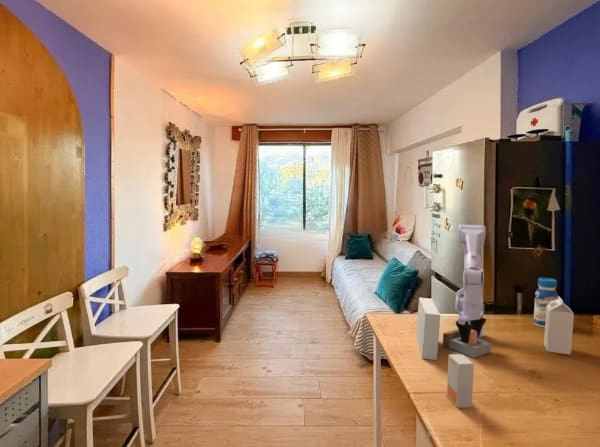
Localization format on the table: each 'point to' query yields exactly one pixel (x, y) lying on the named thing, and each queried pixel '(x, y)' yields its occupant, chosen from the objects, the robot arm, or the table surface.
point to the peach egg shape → (472, 338)
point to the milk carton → (558, 327)
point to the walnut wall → (449, 337)
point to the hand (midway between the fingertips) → (470, 339)
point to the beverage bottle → (544, 299)
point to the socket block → (470, 347)
